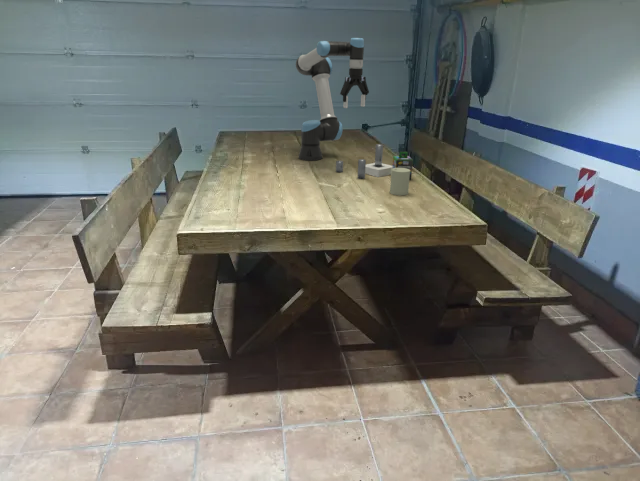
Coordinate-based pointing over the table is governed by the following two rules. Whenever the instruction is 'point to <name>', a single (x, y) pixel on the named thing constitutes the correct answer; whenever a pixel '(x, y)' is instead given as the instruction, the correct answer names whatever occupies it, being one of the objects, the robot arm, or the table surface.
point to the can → (399, 181)
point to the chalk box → (403, 162)
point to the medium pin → (361, 168)
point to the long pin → (378, 155)
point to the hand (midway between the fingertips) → (354, 107)
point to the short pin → (339, 166)
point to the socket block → (378, 170)
